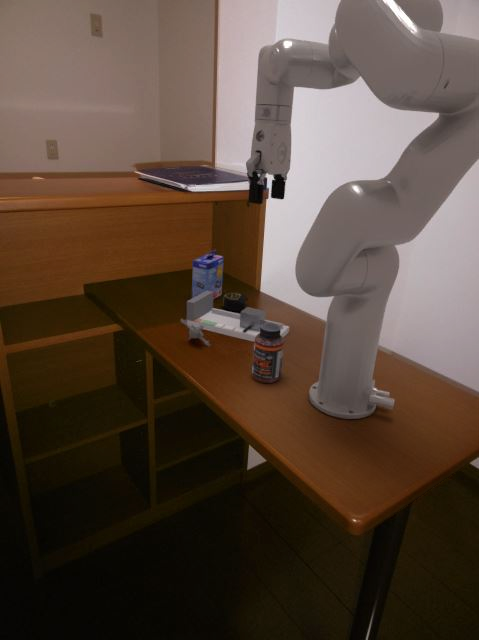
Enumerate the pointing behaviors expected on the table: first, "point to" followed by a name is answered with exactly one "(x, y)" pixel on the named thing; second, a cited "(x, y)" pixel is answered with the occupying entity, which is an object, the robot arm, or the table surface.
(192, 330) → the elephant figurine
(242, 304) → the tape measure
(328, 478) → the table surface
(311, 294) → the robot arm
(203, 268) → the ink cartridge box
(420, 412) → the table surface
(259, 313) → the block
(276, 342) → the supplement bottle
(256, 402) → the table surface
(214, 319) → the board
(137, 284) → the table surface
